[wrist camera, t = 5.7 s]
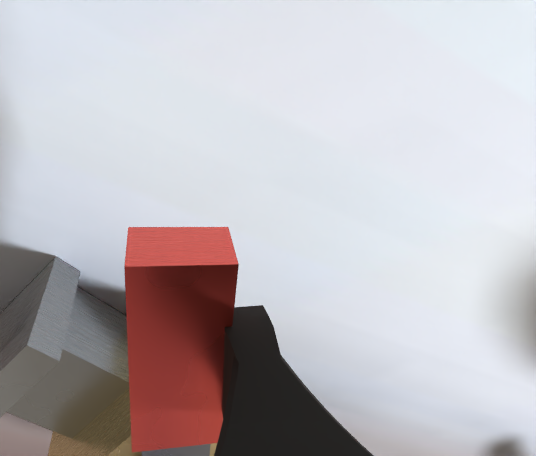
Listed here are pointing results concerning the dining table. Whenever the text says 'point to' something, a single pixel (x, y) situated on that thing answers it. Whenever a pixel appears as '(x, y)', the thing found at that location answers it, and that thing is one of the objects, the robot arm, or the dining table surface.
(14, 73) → the dining table surface
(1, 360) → the valve body
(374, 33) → the dining table surface
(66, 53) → the dining table surface
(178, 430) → the valve lever
